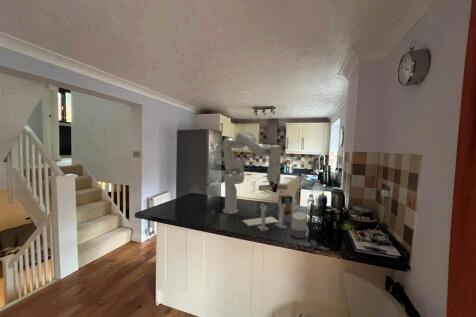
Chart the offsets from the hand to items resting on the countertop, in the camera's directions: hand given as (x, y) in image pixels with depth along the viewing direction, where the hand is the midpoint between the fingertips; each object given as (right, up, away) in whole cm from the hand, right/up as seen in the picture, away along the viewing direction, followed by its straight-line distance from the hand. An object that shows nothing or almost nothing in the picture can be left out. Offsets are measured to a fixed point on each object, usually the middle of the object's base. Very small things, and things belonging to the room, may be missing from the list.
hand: (273, 191), depth 137 cm
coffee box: (+13, -23, +24) cm, 36 cm away
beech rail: (0, +1, 0) cm, 1 cm away
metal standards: (0, -24, +1) cm, 24 cm away
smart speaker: (+13, -26, -11) cm, 31 cm away
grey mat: (-7, -23, +12) cm, 27 cm away
